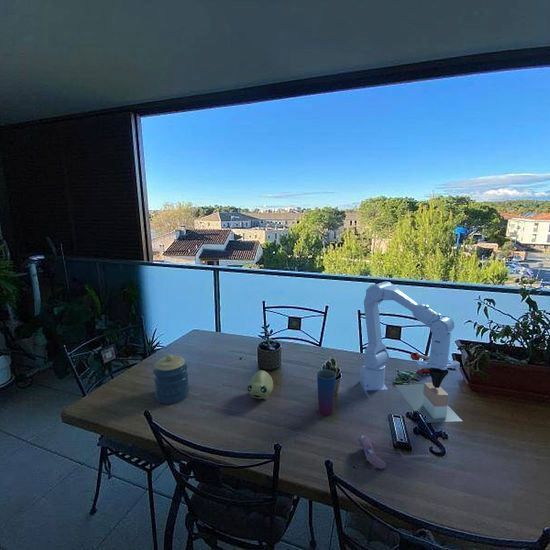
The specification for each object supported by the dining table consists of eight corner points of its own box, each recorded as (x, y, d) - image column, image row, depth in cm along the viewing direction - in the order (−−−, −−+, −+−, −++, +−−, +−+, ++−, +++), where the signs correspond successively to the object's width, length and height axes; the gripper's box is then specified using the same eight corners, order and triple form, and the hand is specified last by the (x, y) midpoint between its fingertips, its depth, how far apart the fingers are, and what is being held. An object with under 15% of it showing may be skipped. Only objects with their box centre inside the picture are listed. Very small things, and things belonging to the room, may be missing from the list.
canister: (153, 407, 122) (148, 364, 119) (157, 388, 135) (154, 349, 131) (188, 402, 125) (185, 360, 121) (190, 385, 137) (187, 346, 134)
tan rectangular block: (434, 406, 113) (435, 394, 112) (423, 393, 121) (424, 382, 120) (447, 406, 113) (448, 394, 112) (435, 393, 121) (436, 382, 120)
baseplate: (423, 424, 112) (423, 422, 111) (394, 386, 135) (394, 385, 135) (462, 422, 112) (462, 421, 112) (427, 385, 136) (427, 384, 136)
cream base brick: (433, 418, 114) (434, 406, 113) (422, 404, 121) (423, 393, 120) (446, 417, 114) (447, 406, 113) (434, 404, 122) (435, 393, 121)
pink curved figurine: (361, 450, 102) (352, 433, 100) (374, 443, 102) (365, 426, 100) (373, 475, 92) (364, 457, 91) (387, 468, 92) (378, 450, 91)
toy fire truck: (443, 376, 142) (445, 356, 140) (411, 375, 144) (412, 355, 142) (440, 373, 146) (442, 353, 144) (408, 371, 147) (410, 351, 145)
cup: (336, 407, 121) (337, 371, 118) (333, 419, 115) (334, 380, 112) (318, 404, 123) (319, 368, 120) (314, 415, 117) (315, 377, 114)
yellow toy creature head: (243, 405, 123) (242, 379, 121) (252, 388, 134) (251, 364, 132) (268, 408, 121) (268, 382, 119) (275, 391, 132) (275, 367, 130)
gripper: (424, 356, 109) (421, 393, 112) (466, 355, 109) (462, 391, 112) (415, 347, 116) (412, 382, 119) (454, 346, 116) (450, 381, 119)
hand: (435, 386), depth 116 cm, fingers closed
